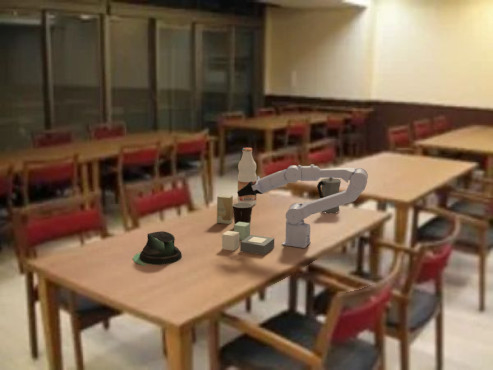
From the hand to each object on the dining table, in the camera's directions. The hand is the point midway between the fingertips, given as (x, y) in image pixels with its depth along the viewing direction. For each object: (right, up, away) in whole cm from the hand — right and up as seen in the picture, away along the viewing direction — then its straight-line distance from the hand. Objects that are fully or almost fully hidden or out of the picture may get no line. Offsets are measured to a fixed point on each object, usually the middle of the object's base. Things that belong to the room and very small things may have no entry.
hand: (241, 193), depth 234 cm
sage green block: (0, -18, +6) cm, 19 cm away
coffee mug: (0, -15, +20) cm, 25 cm away
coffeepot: (+41, -9, +47) cm, 63 cm away
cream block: (-4, -21, -6) cm, 22 cm away
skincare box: (-8, -13, +28) cm, 32 cm away
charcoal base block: (+6, -22, -7) cm, 24 cm away
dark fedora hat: (-30, -24, -16) cm, 41 cm away
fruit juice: (+2, -6, +60) cm, 60 cm away
